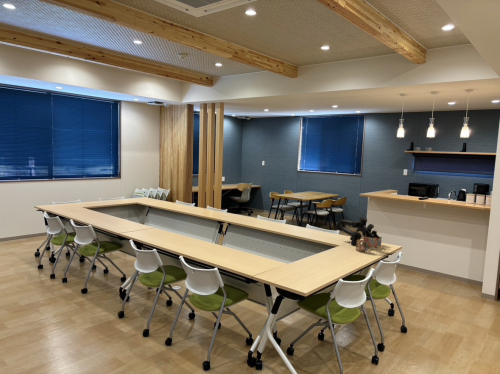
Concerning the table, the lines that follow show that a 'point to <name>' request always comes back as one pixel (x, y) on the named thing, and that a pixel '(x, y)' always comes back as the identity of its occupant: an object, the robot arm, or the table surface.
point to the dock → (368, 248)
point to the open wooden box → (360, 244)
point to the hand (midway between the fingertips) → (377, 237)
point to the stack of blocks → (372, 241)
